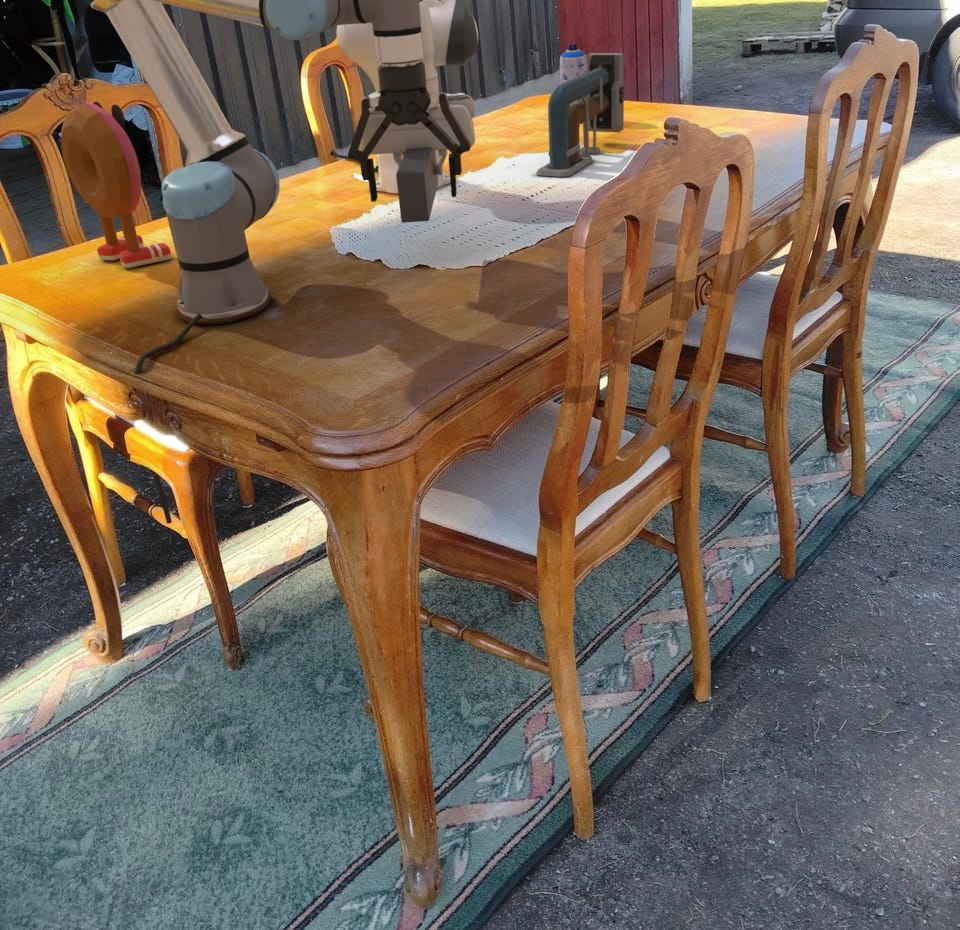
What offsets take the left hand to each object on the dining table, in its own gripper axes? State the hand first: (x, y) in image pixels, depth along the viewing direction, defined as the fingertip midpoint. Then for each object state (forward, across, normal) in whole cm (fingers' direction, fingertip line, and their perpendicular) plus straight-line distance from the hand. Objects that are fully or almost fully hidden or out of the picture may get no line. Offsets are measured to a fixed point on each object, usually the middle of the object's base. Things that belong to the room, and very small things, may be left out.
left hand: (414, 197), depth 163 cm
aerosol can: (+15, -34, -127) cm, 132 cm away
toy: (+15, +60, -23) cm, 67 cm away
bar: (+3, 0, -8) cm, 8 cm away
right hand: (0, 0, -15) cm, 15 cm away
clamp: (+15, -33, -81) cm, 88 cm away
